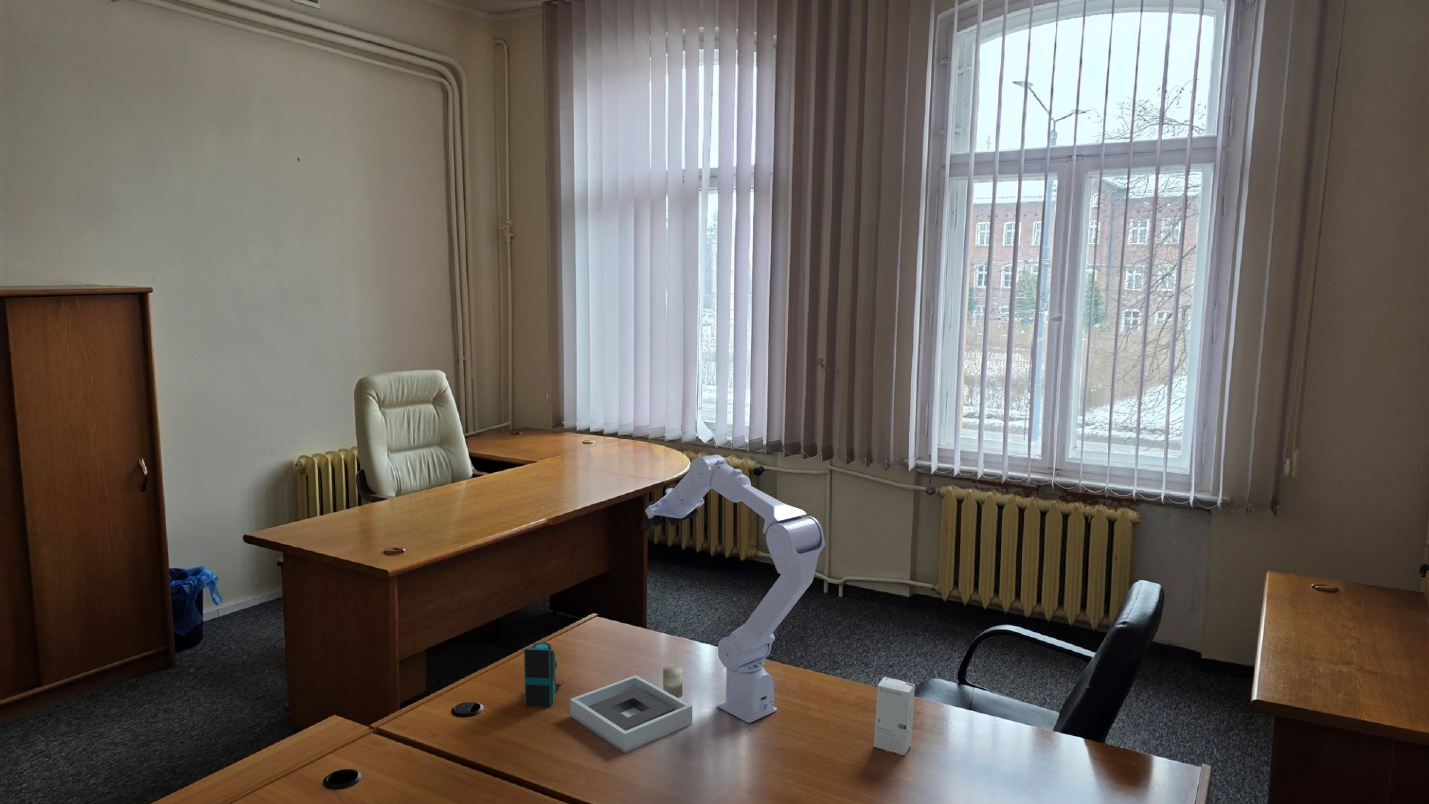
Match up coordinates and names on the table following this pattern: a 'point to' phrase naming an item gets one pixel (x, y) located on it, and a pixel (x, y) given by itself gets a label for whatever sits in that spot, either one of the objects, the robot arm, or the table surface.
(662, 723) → the tray
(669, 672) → the peg
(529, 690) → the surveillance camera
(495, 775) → the table surface
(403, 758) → the table surface
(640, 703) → the plate
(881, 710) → the skincare box
